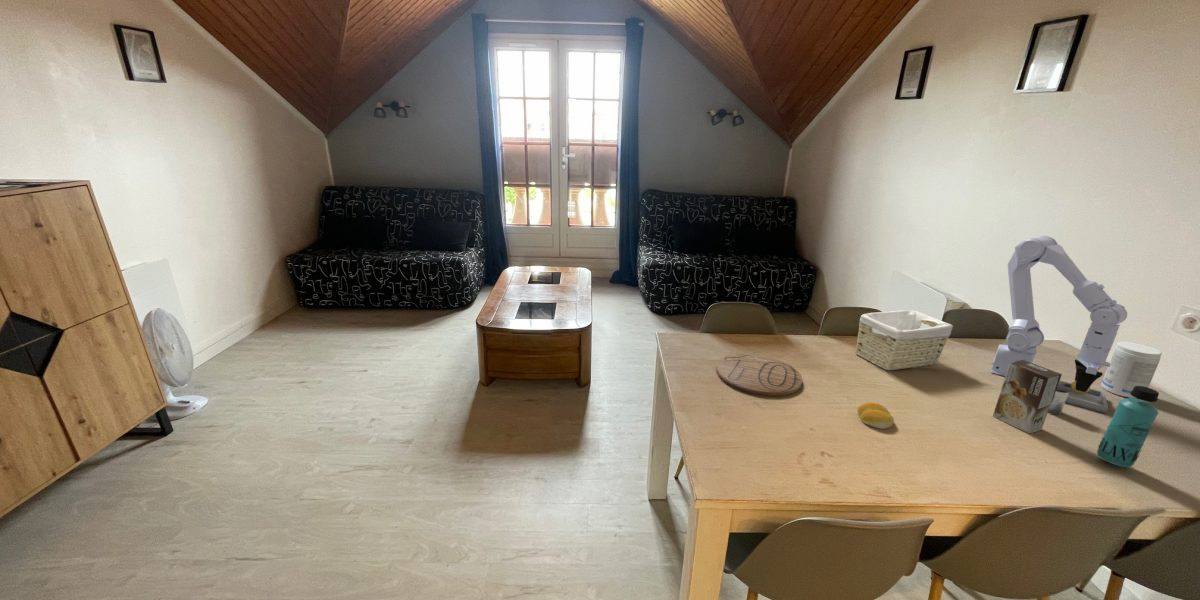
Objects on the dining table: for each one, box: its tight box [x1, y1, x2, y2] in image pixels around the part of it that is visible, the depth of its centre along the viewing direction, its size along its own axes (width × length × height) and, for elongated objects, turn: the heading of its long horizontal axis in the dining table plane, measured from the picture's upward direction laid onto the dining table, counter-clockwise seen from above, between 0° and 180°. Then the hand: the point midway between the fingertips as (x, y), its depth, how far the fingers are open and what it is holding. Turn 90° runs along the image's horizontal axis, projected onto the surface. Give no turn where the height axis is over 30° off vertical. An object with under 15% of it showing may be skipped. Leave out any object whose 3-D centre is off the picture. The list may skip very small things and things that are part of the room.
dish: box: [1060, 380, 1109, 415], centre depth 147 cm, size 12×12×2 cm
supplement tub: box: [1100, 341, 1163, 399], centre depth 150 cm, size 10×10×15 cm
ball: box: [1071, 380, 1091, 394], centre depth 146 cm, size 4×4×4 cm
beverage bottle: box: [1096, 386, 1160, 468], centre depth 114 cm, size 6×7×20 cm
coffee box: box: [992, 360, 1062, 434], centre depth 130 cm, size 9×6×16 cm
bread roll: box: [856, 402, 895, 430], centre depth 131 cm, size 8×9×4 cm
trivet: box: [716, 353, 803, 398], centre depth 152 cm, size 25×25×2 cm
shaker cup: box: [1048, 380, 1072, 416], centre depth 138 cm, size 5×5×8 cm
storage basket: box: [855, 309, 954, 371], centre depth 165 cm, size 24×16×15 cm
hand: (1079, 387), depth 146 cm, fingers closed on ball, 4 cm apart
